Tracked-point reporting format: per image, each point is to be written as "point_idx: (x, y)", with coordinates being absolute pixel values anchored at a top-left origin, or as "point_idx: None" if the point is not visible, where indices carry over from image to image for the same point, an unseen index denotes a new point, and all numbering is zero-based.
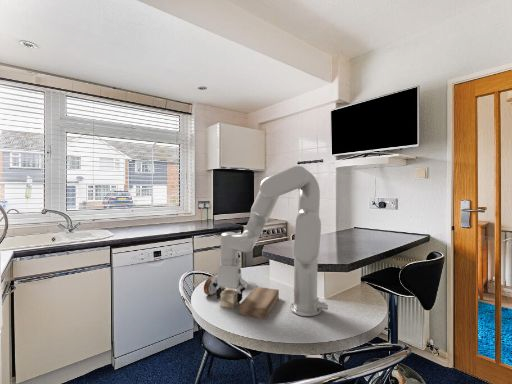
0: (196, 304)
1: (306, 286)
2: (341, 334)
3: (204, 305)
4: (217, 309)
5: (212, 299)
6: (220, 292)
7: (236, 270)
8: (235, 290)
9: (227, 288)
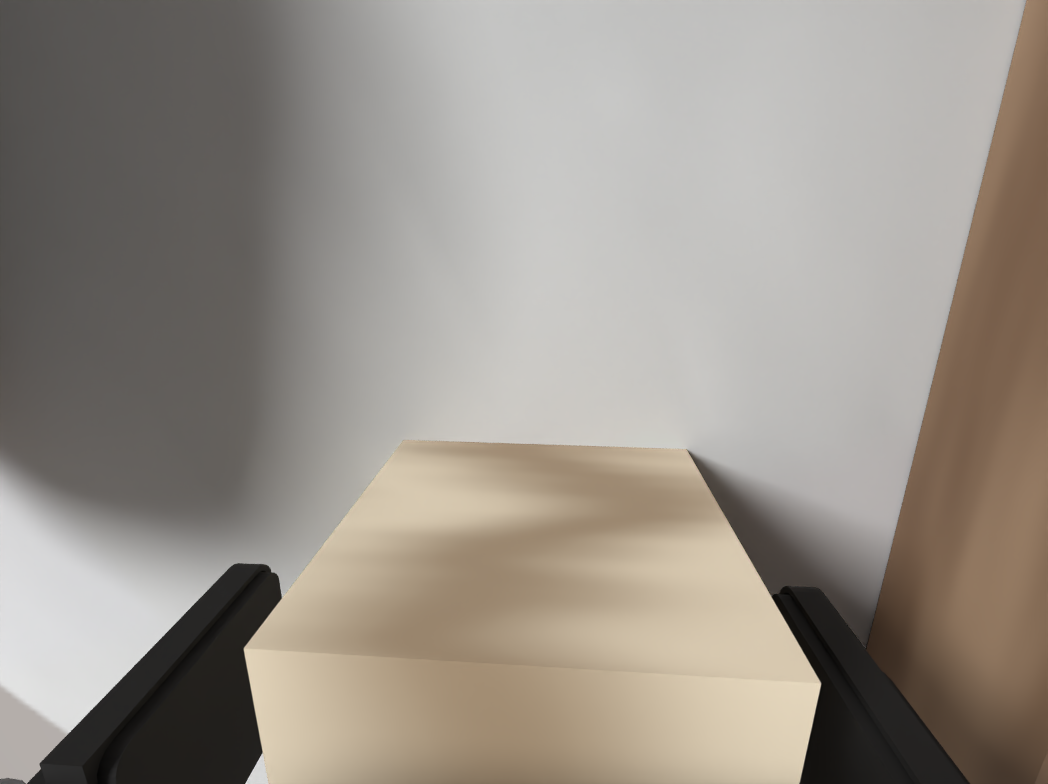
0: (26, 690)
1: None
2: None
3: None
4: None
5: (117, 467)
6: (209, 718)
7: None
8: (704, 782)
9: (312, 691)
